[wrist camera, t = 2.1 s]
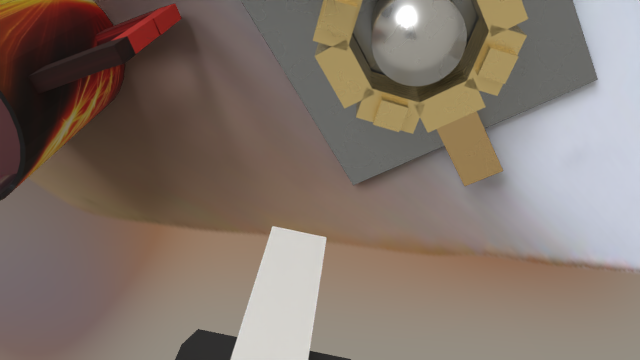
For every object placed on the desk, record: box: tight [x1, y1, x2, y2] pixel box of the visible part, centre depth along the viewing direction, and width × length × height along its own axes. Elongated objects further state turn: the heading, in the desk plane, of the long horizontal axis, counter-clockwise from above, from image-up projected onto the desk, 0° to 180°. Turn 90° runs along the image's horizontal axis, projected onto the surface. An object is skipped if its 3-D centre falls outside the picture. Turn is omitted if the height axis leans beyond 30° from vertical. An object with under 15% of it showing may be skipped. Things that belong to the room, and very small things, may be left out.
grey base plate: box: [241, 0, 597, 185], centre depth 30 cm, size 17×18×5 cm
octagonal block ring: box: [313, 0, 528, 186], centre depth 30 cm, size 16×11×4 cm
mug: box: [0, 0, 182, 201], centre depth 29 cm, size 10×14×12 cm
